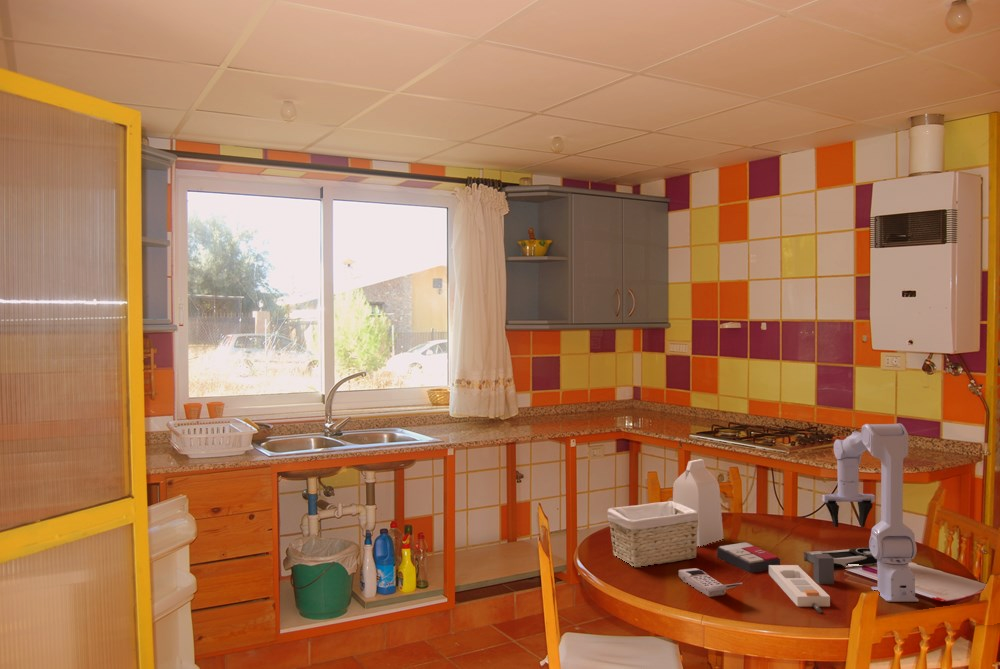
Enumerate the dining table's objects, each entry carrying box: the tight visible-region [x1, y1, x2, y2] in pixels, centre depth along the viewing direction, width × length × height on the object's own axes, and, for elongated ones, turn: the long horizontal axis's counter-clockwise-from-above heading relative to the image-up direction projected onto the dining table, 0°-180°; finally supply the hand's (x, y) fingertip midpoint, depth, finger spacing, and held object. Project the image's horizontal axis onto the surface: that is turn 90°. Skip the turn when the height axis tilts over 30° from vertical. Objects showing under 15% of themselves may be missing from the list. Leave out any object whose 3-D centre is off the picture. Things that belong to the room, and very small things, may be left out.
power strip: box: [768, 564, 831, 614], centre depth 199 cm, size 28×8×3 cm, turn 177°
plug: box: [812, 554, 835, 585], centre depth 207 cm, size 5×4×7 cm
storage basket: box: [606, 500, 699, 568], centre depth 231 cm, size 24×16×15 cm
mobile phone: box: [678, 567, 743, 598], centre depth 202 cm, size 6×6×25 cm
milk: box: [672, 458, 724, 548], centre depth 248 cm, size 12×12×26 cm
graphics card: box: [803, 546, 877, 570], centre depth 222 cm, size 10×3×25 cm
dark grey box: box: [716, 541, 781, 574], centre depth 223 cm, size 11×4×15 cm
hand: (848, 526), depth 223 cm, fingers open, 7 cm apart
